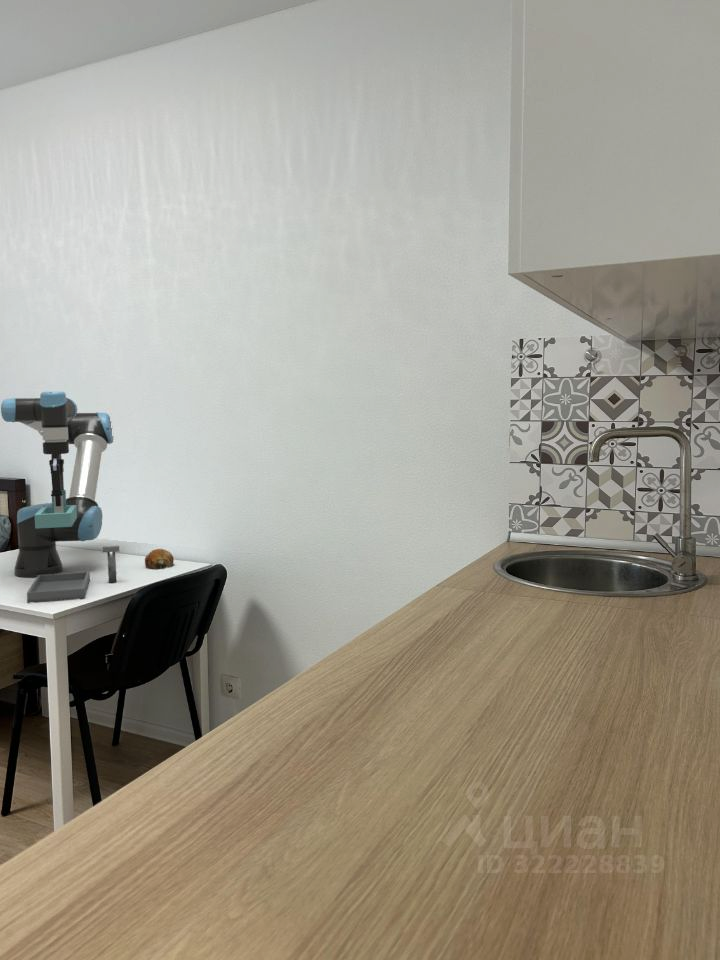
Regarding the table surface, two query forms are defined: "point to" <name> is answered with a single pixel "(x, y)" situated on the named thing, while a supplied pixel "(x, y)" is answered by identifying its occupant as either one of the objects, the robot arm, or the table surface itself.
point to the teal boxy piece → (56, 515)
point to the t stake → (111, 562)
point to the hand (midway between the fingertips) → (59, 515)
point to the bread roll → (159, 559)
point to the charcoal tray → (59, 587)
